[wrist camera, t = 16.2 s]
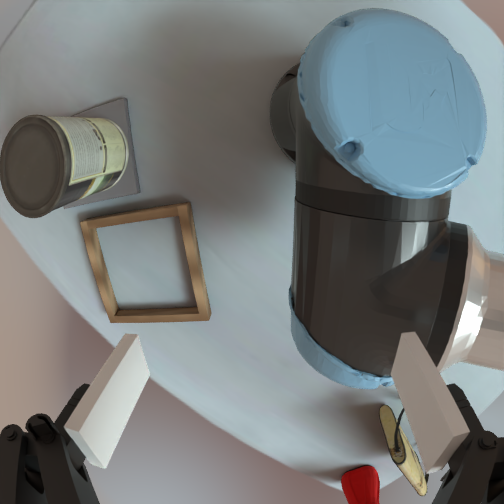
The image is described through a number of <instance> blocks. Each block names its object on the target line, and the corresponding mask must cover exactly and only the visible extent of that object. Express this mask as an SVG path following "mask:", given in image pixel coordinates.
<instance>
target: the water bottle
mask: <svg viewBox="0 0 504 504" xmlns="http://www.w3.org/2000/svg"><path fill="white" fill-rule="evenodd" d="M341 483H342V489H343V491H344V494H345V496H346V498H347V501H348V503H349V504H379V489H380V481H379V476H378V473H377V471H376V469H375V468H374V467H372V466H363V467H360V468H357V469H355V470H352V471H348V472H346V473H345V474H344V475H343V476H342V479H341Z"/></svg>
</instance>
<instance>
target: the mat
mask: <svg viewBox="0 0 504 504" xmlns="http://www.w3.org/2000/svg"><path fill="white" fill-rule="evenodd" d="M71 117H82V118H105V119H109V120H111V121H113V122H114V123H116V124H117V125H118V126H119V127H120V128H121V129H122V131H123V133H124V135H125V137H126V139H127V143H128V149H129V156H128V163H127V167H126V170H125V172H124V174H123V176H122V177H121V179H120V180H119V181H118V182H117V183H116V184H115V185H114V186H113V187H111V188H109V189H107V190H105V191H100V192H98V193H95V194H92V195H90V196H87V197H85V198H82V199H79V200H77V201H74V202H72V203H69V204H67V205H65V206H63V207H64V209H66V208H70V207H75V206H79V205H83V204H88V203H93V202H97V201H102V200H107V199H112V198H117V197H122V196H127V195H133V194H138V193H140V187H139V181H138V176H137V170H136V163H135V157H134V150H133V144H132V136H131V129H130V121H129V113H128V104H127V99H126V98H122V99H119V100H116V101H113V102H110V103H107V104H104V105H101V106H98V107H95V108H92V109H89V110H87V111H84V112H81V113H79V114H76V115H73V116H71Z"/></svg>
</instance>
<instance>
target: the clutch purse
mask: <svg viewBox="0 0 504 504" xmlns="http://www.w3.org/2000/svg"><path fill="white" fill-rule="evenodd" d="M403 412H404V408H403V409H402V411H401V413H400V415H399V418H398V421H397V420H396V418H395V416H394V413H393V411H392V409H391V408H390V407H389V406H388V405H383V406H382V407H381V408H380V411H379V417H380V421H381V425H382V428H383V431H384V434H385V438H386V441H387V445H388V449H389V452H390V455H391V458H392V460H393V462H394V463H395V464H396V465H397V467H398V468H399V469H400V470H401V472H402V473H403V474H404V476H405V477H406V478H407V479H408V481H409V482H410V484H411V485H412V486H413V487H414V488H415V490H416V491H417V493H418V494H419V495H420V496H425V495H426V493H427V482H428V477H429V473H428V474H426V475H425V477H424V473H423V471H422V468H421V465H420V462H419V459H418V456H417V454H416V453H415V451H414V450H413V448H412V447H411V445H410V443H409V441H408V439H407V438H406V436H405V434H404V432H403V430H402V429H401V427H400V420H401V417H402V414H403Z"/></svg>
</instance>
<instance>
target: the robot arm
mask: <svg viewBox="0 0 504 504" xmlns="http://www.w3.org/2000/svg"><path fill="white" fill-rule="evenodd" d="M270 121H271V127H272V131H273V134H274V136H275V139H276V141H277V143H278V145H279V146H280V148H281V149H282V151H283V152H284V153H285V154H286V156H287V157H288V158H289V159H290V160H291V161H293V162H294V163H295V164H296V196H295V208H294V236H293V259H292V279H291V286H290V288H289V305H290V309H291V332H292V336H293V340H294V341H295V344H296V346H297V349H298V351H299V352H300V354H301V355H302V357H303V358H304V359H305V360H306V362H307V363H308V364H309V365H310V366H312V367H313V368H314V369H315V370H316V371H317V372H319V373H320V374H322V375H323V376H325V377H327V378H329V379H330V380H332V381H335V382H337V383H339V384H342V385H345V386H349V387H353V388H359V389H376V388H377V387H378V386H379V385H380V384H382V385H383V386H385V387H387V386H390V385H393V384H395V386H396V389H397V391H398V394H399V397H400V399H401V402H402V404H403V407H404V410H405V412H406V415H407V418H408V421H409V423H410V426H411V429H412V432H413V435H414V437H415V440H416V443H417V446H418V449H419V452H420V455H421V458H422V461H423V464H424V467H425V470H426V474H428V473H432V472H435V471H439V470H442V469H443V468H444V466H445V465H446V464H447V463H448V464H449V467H450V469H449V470H448V472H447V473H446V474H445V475H444V476H443V477H442V479H441V481H443V483H442V485H441V487H440V489H439V491H438V493H437V495H436V497H435V499H434V500H433V502H432V504H504V437H501V438H498V437H497V436H496V435H495V434H494V433H492V432H490V431H485V430H484V429H483V427H482V425H481V423H480V421H479V419H478V418H477V416H476V414H475V412H474V410H473V408H472V406H470V403H469V401H468V400H467V397H466V396H465V394H464V392H463V390H462V389H460V388H459V387H458V386H457V385H456V384H455V383H454V384H449V385H446V384H445V382H444V380H443V379H442V377H441V375H440V373H441V372H443V371H444V370H446V369H447V368H449V367H451V366H452V365H454V364H456V363H458V362H464V363H469V364H473V365H478V366H482V367H487V368H492V369H496V370H501V371H504V254H501V253H497V252H492V251H488V250H486V249H485V248H484V247H483V246H482V244H481V243H480V241H479V239H478V238H477V236H476V234H475V233H474V231H473V230H472V228H471V227H470V226H468V225H465V224H460V223H455V222H450V221H448V215H449V208H450V200H451V190H452V189H453V188H454V187H456V186H458V185H459V184H460V183H462V182H463V181H464V180H465V179H466V178H467V177H468V175H469V174H468V170H469V168H470V167H471V166H472V165H476V164H477V163H478V161H479V159H480V157H481V154H482V152H483V148H484V144H485V139H486V131H487V118H486V109H485V103H484V99H483V95H482V92H481V89H480V86H479V83H478V81H477V79H476V77H475V75H474V73H473V71H472V69H471V67H470V66H469V64H468V63H467V61H466V60H465V58H464V57H463V56H462V55H461V54H459V53H457V52H456V51H455V50H454V49H453V47H452V46H451V44H450V43H449V41H448V39H447V38H446V37H445V36H444V35H443V34H441V33H440V32H439V31H438V30H436V29H435V28H433V27H432V26H430V25H429V24H427V23H425V22H424V21H422V20H420V19H418V18H415V17H413V16H411V15H408V14H405V13H402V12H398V11H394V10H389V9H378V8H372V9H362V10H356V11H353V12H350V13H347V14H345V15H342V16H340V17H338V18H336V19H335V20H333V21H332V22H331V23H329V24H328V25H327V26H326V27H324V29H323V30H322V31H321V32H320V33H318V34H317V35H316V36H315V37H314V38H313V39H312V40H311V41H310V43H309V46H308V47H307V48H306V49H305V53H304V54H303V55H302V57H301V59H300V63H299V64H297V65H295V66H294V67H292V68H291V69H290V70H289V71H288V72H287V73H286V74H285V75H284V76H283V77H282V78H281V80H280V81H279V83H278V84H277V86H276V88H275V91H274V93H273V96H272V100H271V106H270ZM149 376H150V372H149V369H148V366H147V363H146V360H145V357H144V353H143V350H142V346H141V343H140V339H139V336H138V335H136V334H125V335H124V336H123V338H122V339H121V340H120V342H119V343H118V345H117V346H116V348H115V349H114V351H113V352H112V353H111V355H110V356H109V358H108V359H107V361H106V362H105V364H104V365H103V367H102V368H101V370H100V371H99V373H98V374H97V376H96V377H95V379H94V380H93V382H92V383H91V385H89V384H83V385H82V386H81V387H79V388H78V389H77V390H76V391H75V392H74V394H73V396H72V397H71V399H70V400H69V401H68V403H67V405H66V406H65V407H64V409H63V410H62V412H61V414H60V415H59V417H58V418H57V420H56V421H55V423H53V421H52V420H51V418H50V417H49V416H48V415H46V414H42V413H41V414H36V415H33V416H32V417H31V418H29V419H28V421H27V423H26V427H25V428H26V429H27V431H28V432H29V433H27V432H23V431H22V429H21V428H20V427H19V426H18V425H15V424H12V425H8V426H6V427H5V428H4V429H3V430H2V432H1V434H0V504H100V503H99V501H98V498H97V496H96V493H95V491H94V488H93V486H92V483H91V480H90V478H89V475H88V472H87V469H86V467H85V465H84V463H83V462H84V460H85V458H87V459H88V461H89V462H90V463H91V464H92V465H95V466H98V467H101V468H104V469H106V467H107V465H108V463H109V461H110V458H111V456H112V454H113V452H114V449H115V447H116V445H117V443H118V441H119V439H120V436H121V434H122V432H123V430H124V428H125V426H126V423H127V421H128V419H129V417H130V415H131V413H132V411H133V409H134V407H135V405H136V402H137V400H138V398H139V396H140V394H141V392H142V390H143V388H144V386H145V384H146V382H147V380H148V378H149Z"/></svg>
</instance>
